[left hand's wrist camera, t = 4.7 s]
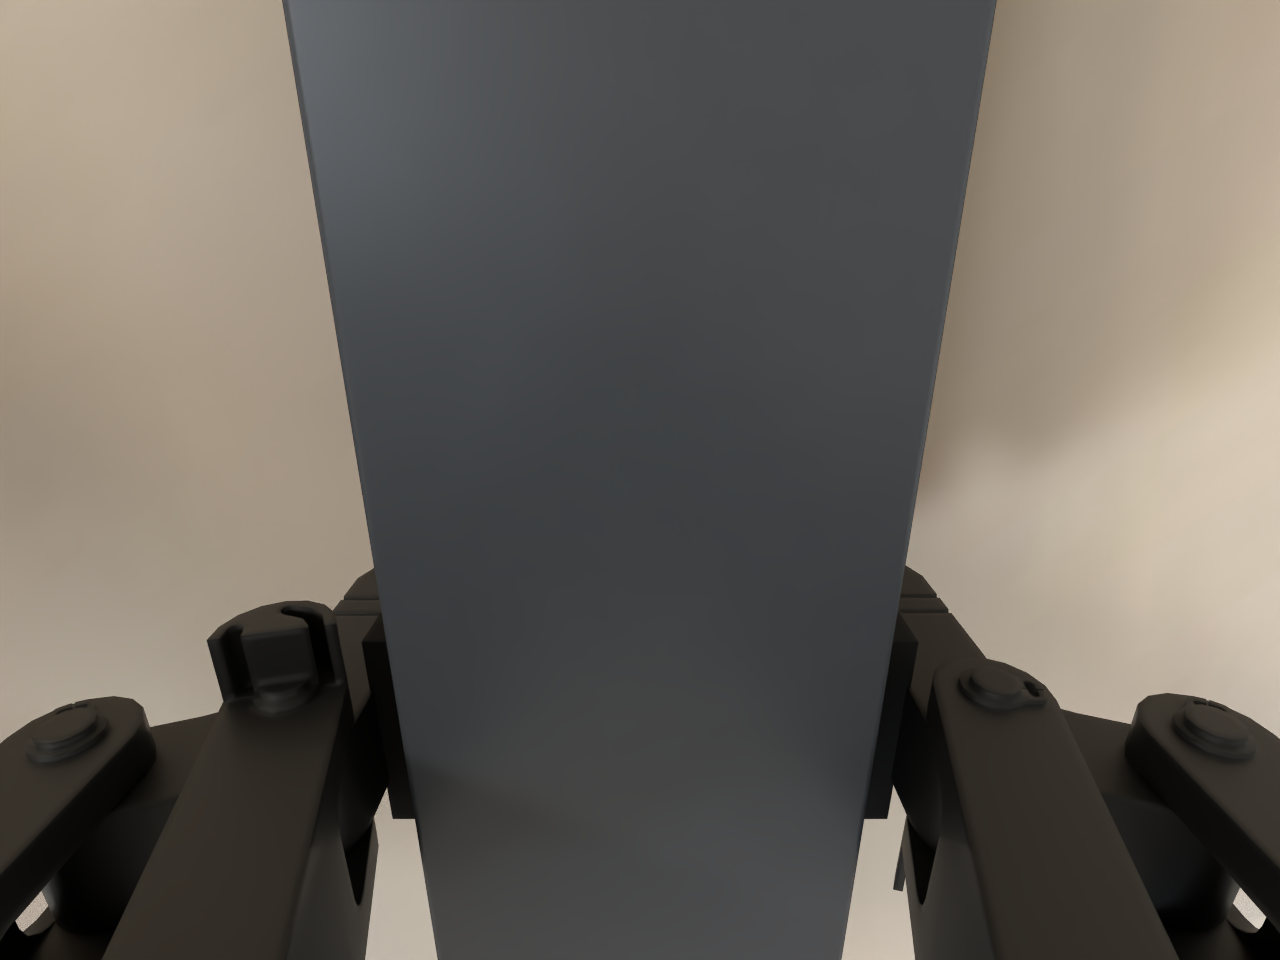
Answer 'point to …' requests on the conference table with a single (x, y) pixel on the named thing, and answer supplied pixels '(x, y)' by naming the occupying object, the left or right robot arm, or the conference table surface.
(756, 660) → the post
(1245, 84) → the conference table surface
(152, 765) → the left robot arm
